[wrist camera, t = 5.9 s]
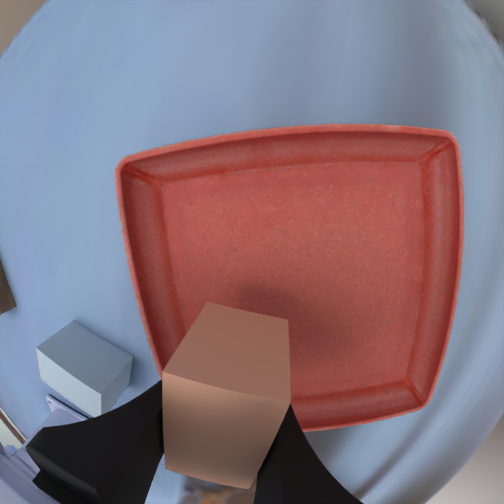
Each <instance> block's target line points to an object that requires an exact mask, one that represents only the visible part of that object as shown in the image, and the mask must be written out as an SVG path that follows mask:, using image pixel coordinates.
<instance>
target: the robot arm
mask: <svg viewBox="0 0 504 504" xmlns="http://www.w3.org/2000/svg"><path fill="white" fill-rule="evenodd" d="M46 399H47V401H48V404H49V406H50V409H51V411H52V413H51V414H50V415H49V416H48V417H47V419H46V420H45V421H44V422H43V423H42V424H41V425H40V426H39V427H38V428H37V430H36V431H35V432H34V433H33V434H32V435H31V436H30V437H29V439H28V440H27V441H26V442H25V443H24V444H23V445H22V447H21V448H19V449H17V450H16V448H15V447H14V446H13V445H12V446H10V445H6V446H5V447H3V445H2V444H1V443H0V504H144V503H145V500H146V497H147V494H148V492H149V489H150V486H151V483H152V480H153V478H154V475H155V472H156V470H157V467H158V464H159V462H160V460H161V458H162V456H163V454H164V438H163V407H162V379H161V380H160V381H159V382H158V383H156V384H155V385H154V386H152V387H151V388H149V389H148V390H147V391H145V392H144V393H142V394H141V395H139V396H138V397H136V398H134V399H133V400H131V401H129V402H128V403H126V404H124V405H122V406H120V407H118V408H116V409H114V410H112V411H110V412H107V413H105V414H102V415H99V416H97V417H94V418H91V419H88V418H86V417H84V416H82V415H80V414H79V413H77V412H75V411H73V410H72V409H70V408H68V407H67V406H65V405H63V404H62V403H60V402H59V401H57V400H56V399H54V398H52V397H51V396H49V395H47V396H46ZM254 504H363V503H362V502H361V501H359V500H358V499H357V498H355V497H354V496H353V495H352V494H350V493H349V492H348V491H347V490H346V489H345V488H344V487H343V486H342V485H341V484H340V483H339V482H338V481H337V480H336V479H335V478H334V477H333V476H332V475H331V474H330V472H329V471H328V470H327V469H326V467H325V466H324V465H323V464H322V462H321V461H320V460H319V458H318V457H317V455H316V454H315V452H314V451H313V449H312V447H311V446H310V444H309V442H308V440H307V439H306V437H305V435H304V433H303V431H302V429H301V427H300V425H299V422H298V420H297V418H296V416H295V413H294V411H293V408H292V405H291V402H290V405H289V407H288V409H287V412H286V414H285V416H284V419H283V421H282V423H281V425H280V428H279V430H278V432H277V434H276V436H275V438H274V441H273V443H272V445H271V447H270V449H269V451H268V453H267V455H266V457H265V459H264V461H263V463H262V465H261V467H260V469H259V471H258V473H257V486H256V492H255V498H254Z"/></svg>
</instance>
